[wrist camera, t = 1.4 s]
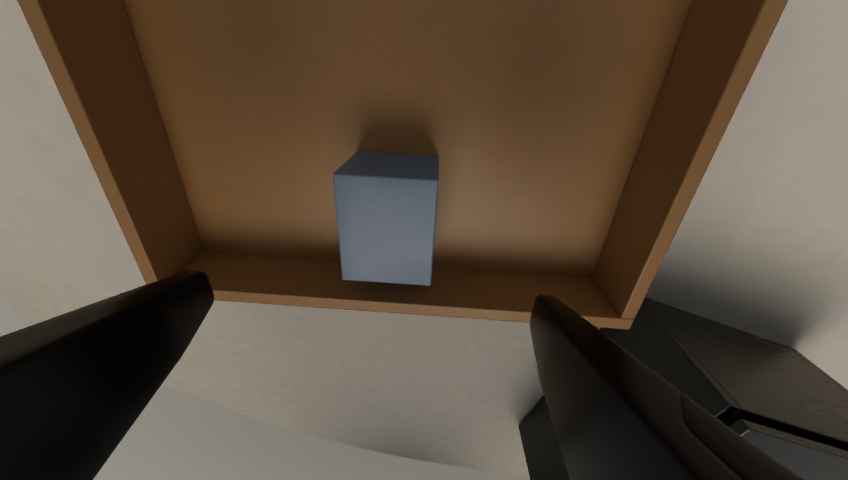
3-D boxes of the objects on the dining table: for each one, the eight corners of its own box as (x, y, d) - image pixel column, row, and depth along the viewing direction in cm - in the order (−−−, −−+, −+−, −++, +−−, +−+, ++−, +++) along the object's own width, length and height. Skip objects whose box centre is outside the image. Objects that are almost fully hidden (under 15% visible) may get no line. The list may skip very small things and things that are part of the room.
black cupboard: (647, 460, 24) (722, 601, 18) (518, 425, 23) (548, 564, 16) (794, 348, 18) (988, 499, 12) (632, 292, 17) (750, 427, 10)
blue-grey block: (432, 245, 16) (430, 286, 13) (360, 240, 16) (341, 280, 13) (439, 156, 13) (438, 180, 10) (356, 151, 14) (331, 173, 10)
